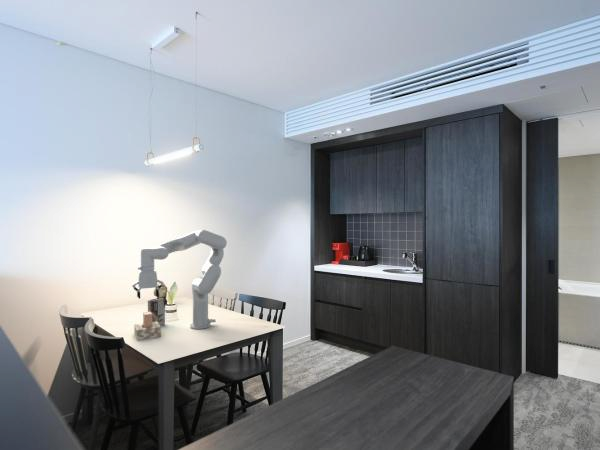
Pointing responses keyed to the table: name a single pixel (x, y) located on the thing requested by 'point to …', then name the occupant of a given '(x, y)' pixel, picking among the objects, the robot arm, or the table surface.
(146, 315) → the terracotta peg
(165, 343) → the table surface
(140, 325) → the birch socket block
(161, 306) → the coffee box
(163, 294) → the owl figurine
